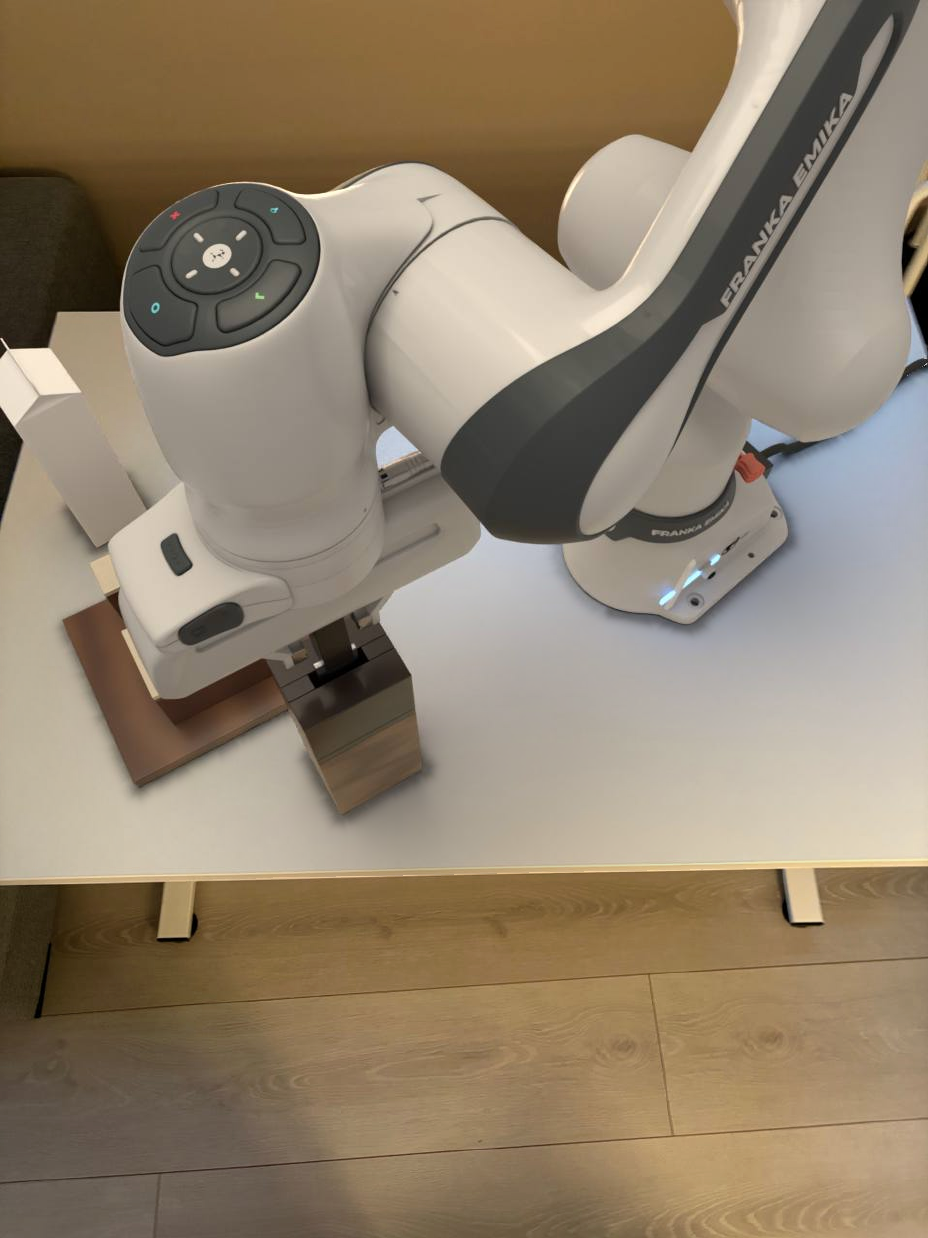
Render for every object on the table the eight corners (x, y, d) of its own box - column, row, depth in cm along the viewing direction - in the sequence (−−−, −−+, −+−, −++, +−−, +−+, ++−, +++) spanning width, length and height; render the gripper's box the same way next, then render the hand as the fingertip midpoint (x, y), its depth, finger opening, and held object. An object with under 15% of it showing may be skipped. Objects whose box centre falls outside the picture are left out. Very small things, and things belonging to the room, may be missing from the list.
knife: (360, 679, 68) (332, 573, 53) (373, 701, 67) (348, 600, 53) (324, 699, 67) (286, 597, 53) (336, 721, 66) (301, 624, 52)
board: (298, 517, 92) (296, 509, 90) (383, 659, 85) (382, 653, 83) (67, 626, 86) (61, 619, 85) (138, 787, 79) (133, 782, 78)
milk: (97, 549, 90) (-6, 402, 70) (69, 507, 92) (-39, 353, 72) (152, 517, 92) (67, 365, 72) (124, 477, 94) (33, 318, 74)
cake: (265, 603, 86) (251, 568, 80) (298, 662, 83) (286, 630, 77) (144, 662, 83) (120, 631, 77) (174, 726, 80) (152, 698, 74)
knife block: (390, 713, 82) (370, 606, 64) (422, 769, 80) (412, 675, 61) (310, 757, 81) (265, 659, 62) (341, 815, 78) (304, 732, 60)
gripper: (444, 387, 48) (447, 527, 61) (73, 556, 44) (158, 671, 56) (507, 472, 46) (497, 600, 58) (122, 660, 41) (199, 756, 54)
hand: (328, 636), depth 57 cm, fingers open, 4 cm apart
